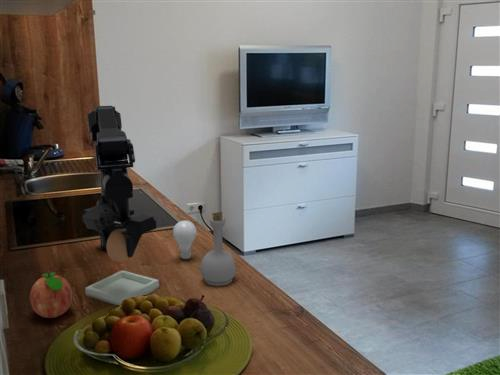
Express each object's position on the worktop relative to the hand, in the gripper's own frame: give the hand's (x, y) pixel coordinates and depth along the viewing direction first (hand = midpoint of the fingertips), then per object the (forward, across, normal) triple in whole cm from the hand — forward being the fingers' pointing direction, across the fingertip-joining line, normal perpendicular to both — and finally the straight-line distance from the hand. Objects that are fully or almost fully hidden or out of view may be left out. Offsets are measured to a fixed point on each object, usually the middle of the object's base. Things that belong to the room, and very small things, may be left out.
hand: (120, 254), depth 123 cm
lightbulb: (+10, 0, +24) cm, 26 cm away
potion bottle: (+10, +16, +17) cm, 25 cm away
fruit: (+10, -5, -16) cm, 19 cm away
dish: (+9, 0, 0) cm, 9 cm away
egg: (+2, 0, 0) cm, 2 cm away
